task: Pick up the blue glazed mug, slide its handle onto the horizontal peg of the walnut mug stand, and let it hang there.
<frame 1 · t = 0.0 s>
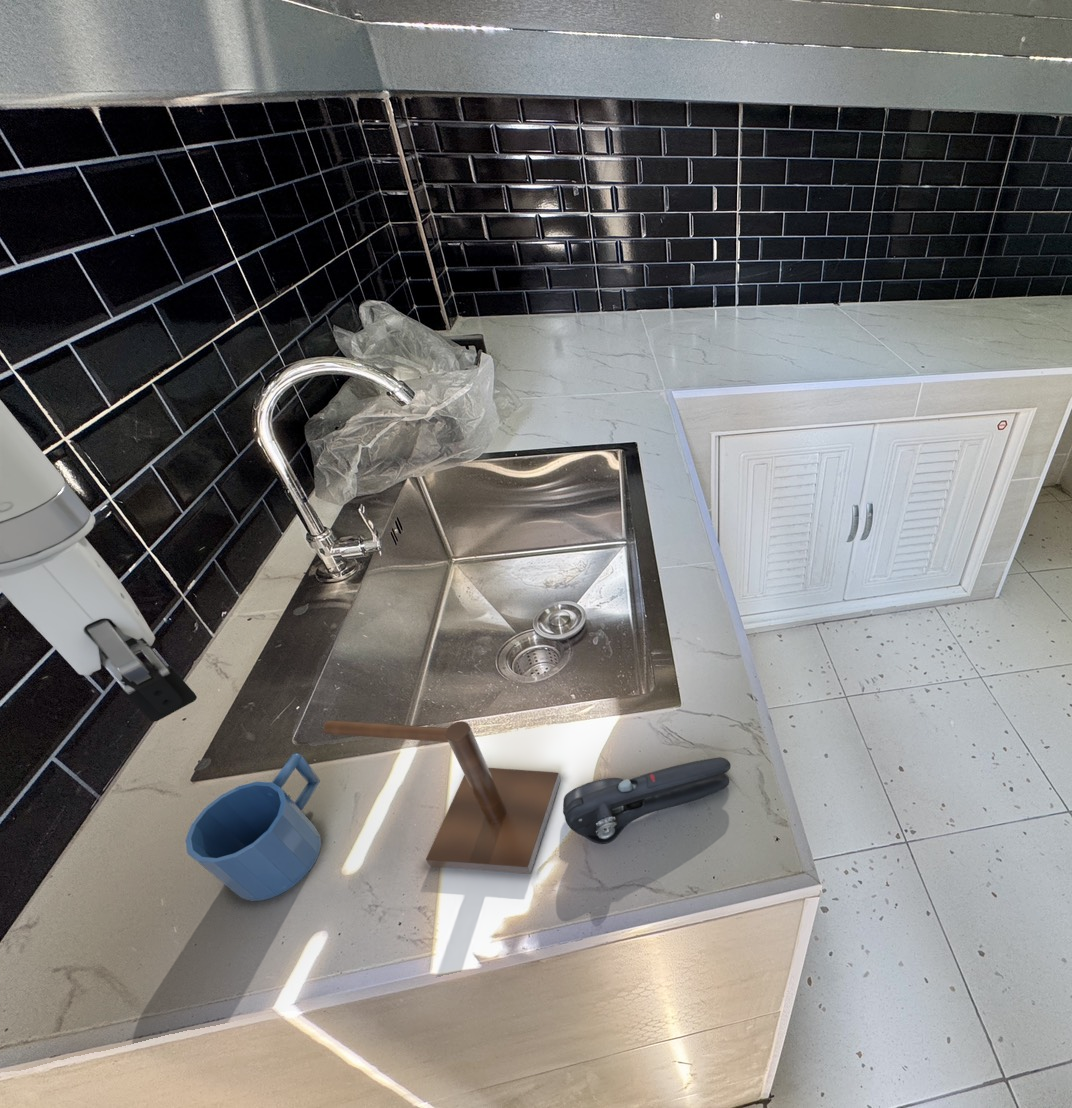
hand: (156, 680, 53), 18 cm above the worktop, tool pointing down, fingers open, 9 cm apart
can opener: (652, 805, 64), on the worktop
mug: (278, 860, 59), on the worktop
mug stand: (499, 820, 62), on the worktop
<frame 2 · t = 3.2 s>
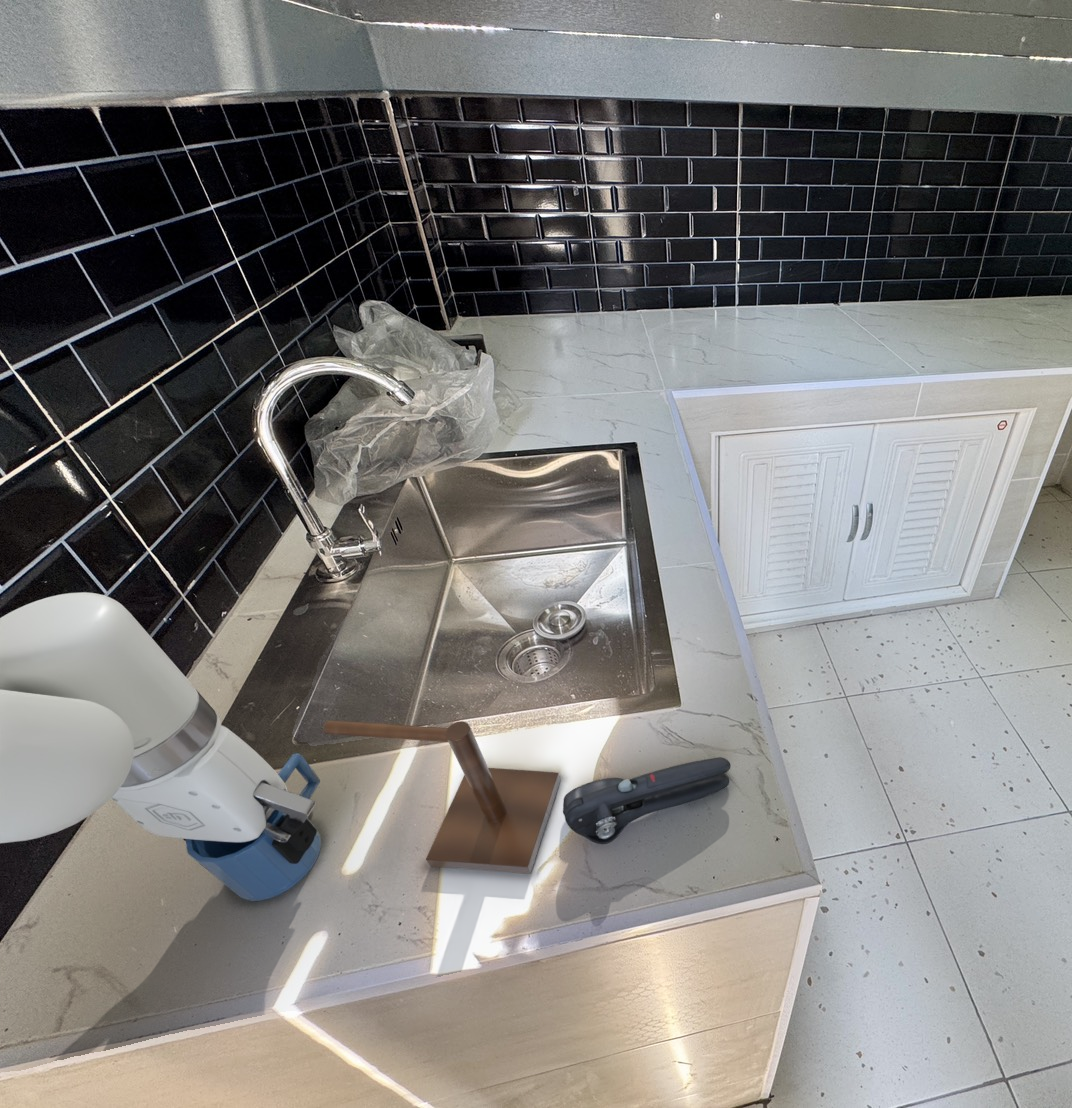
hand: (262, 844, 57), 3 cm above the worktop, tool pointing down, fingers closed on mug, 7 cm apart
mug: (278, 860, 59), on the worktop, touching gripper
everything else where it was.
when the fingers open (13 cm above the worktop, at t = 10.0 s): mug drops 2 cm and tips over, resting on mug stand.
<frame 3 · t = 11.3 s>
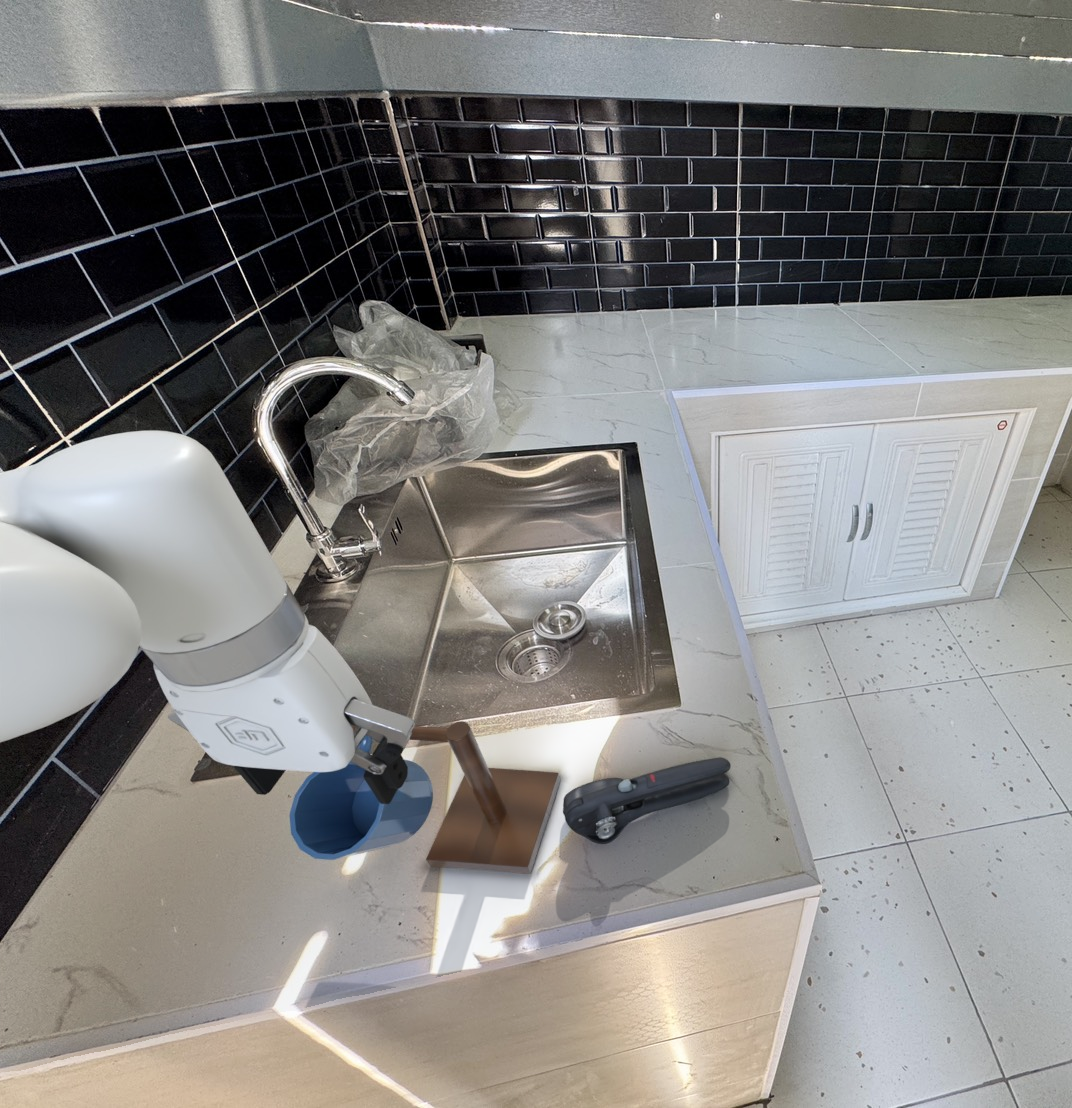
hand: (335, 782, 48), 16 cm above the worktop, tool pointing down, fingers open, 9 cm apart
mug: (393, 801, 55), point 8 cm above the worktop, tilted 32°, touching mug stand
everything else where it was.
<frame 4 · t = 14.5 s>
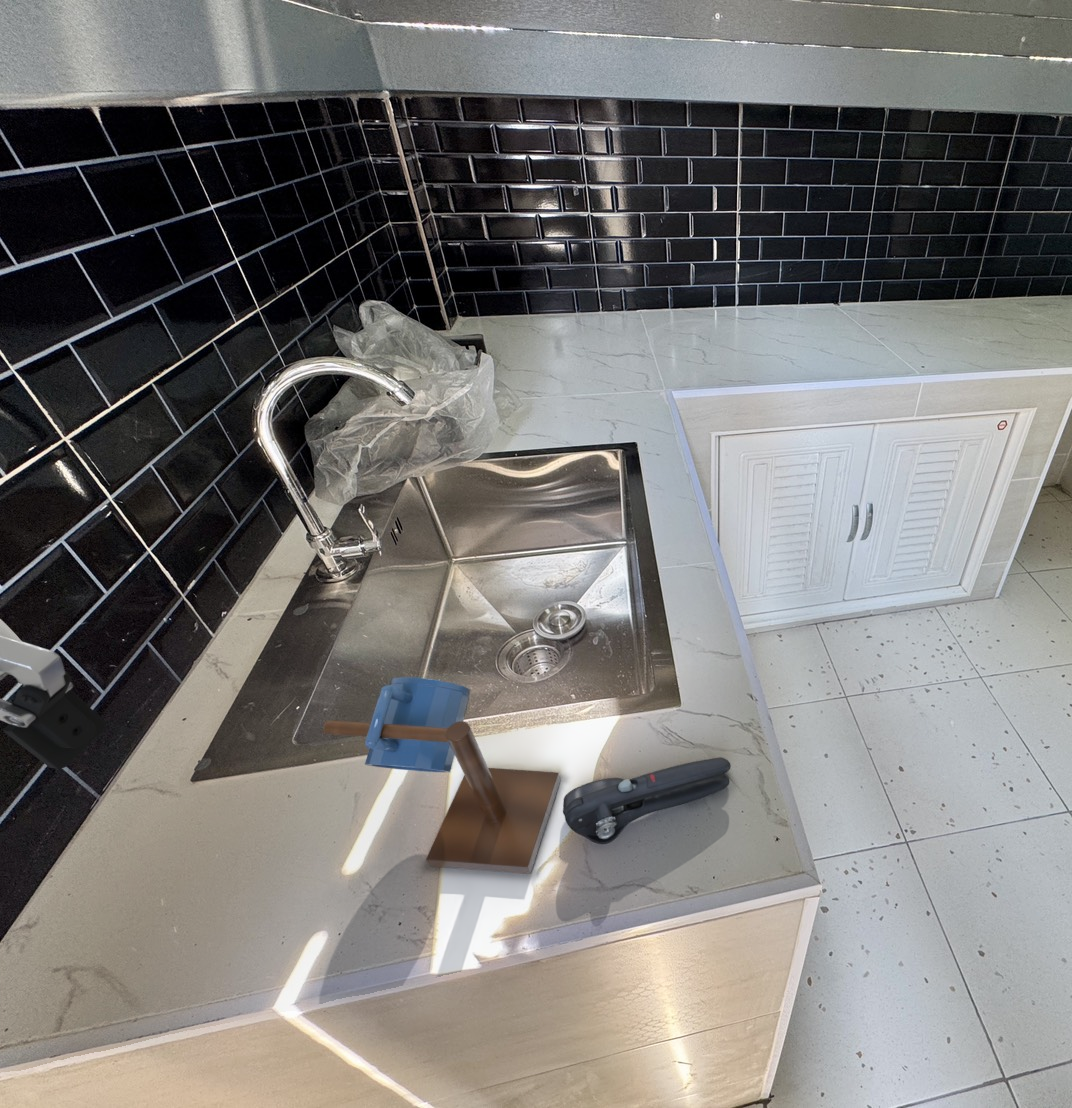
hand: (5, 741, 37), 28 cm above the worktop, tool pointing down, fingers open, 9 cm apart
mug: (431, 685, 61), point 12 cm above the worktop, tilted 117°, touching mug stand
everything else where it was.
at the end: mug point 7.3 cm above the worktop; mug touching mug stand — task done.
